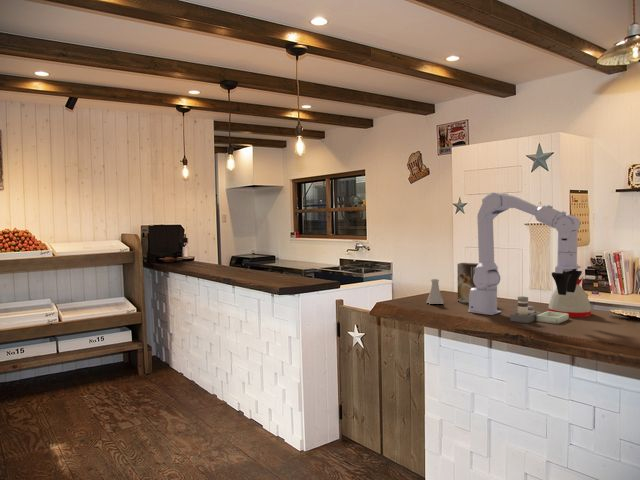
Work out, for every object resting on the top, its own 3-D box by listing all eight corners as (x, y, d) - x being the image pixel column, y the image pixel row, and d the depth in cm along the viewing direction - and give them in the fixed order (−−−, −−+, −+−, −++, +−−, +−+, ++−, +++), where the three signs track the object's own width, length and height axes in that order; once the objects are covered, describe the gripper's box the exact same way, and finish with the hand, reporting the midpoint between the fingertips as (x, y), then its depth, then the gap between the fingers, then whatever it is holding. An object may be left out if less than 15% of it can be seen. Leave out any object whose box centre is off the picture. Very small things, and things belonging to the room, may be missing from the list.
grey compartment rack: (510, 320, 169) (510, 308, 169) (524, 315, 177) (524, 304, 177) (527, 323, 165) (527, 310, 165) (541, 318, 173) (541, 306, 172)
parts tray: (536, 320, 168) (536, 315, 168) (547, 316, 175) (547, 311, 175) (557, 324, 163) (557, 318, 163) (568, 319, 170) (568, 313, 170)
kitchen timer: (589, 318, 172) (590, 275, 171) (546, 314, 179) (546, 273, 179) (591, 312, 184) (592, 271, 183) (551, 308, 191) (551, 269, 190)
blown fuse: (515, 320, 169) (516, 297, 169) (520, 319, 172) (520, 296, 171) (525, 322, 167) (525, 298, 167) (529, 320, 169) (529, 297, 169)
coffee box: (484, 302, 206) (484, 263, 206) (478, 304, 201) (478, 264, 201) (463, 299, 212) (463, 262, 211) (456, 301, 207) (456, 263, 207)
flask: (424, 302, 207) (424, 278, 206) (442, 302, 206) (442, 278, 206) (427, 305, 199) (427, 280, 199) (445, 305, 199) (445, 280, 199)
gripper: (572, 253, 154) (571, 297, 155) (588, 251, 164) (587, 292, 165) (548, 252, 160) (548, 294, 160) (565, 250, 170) (565, 290, 170)
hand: (566, 293), depth 163 cm, fingers open, 7 cm apart
